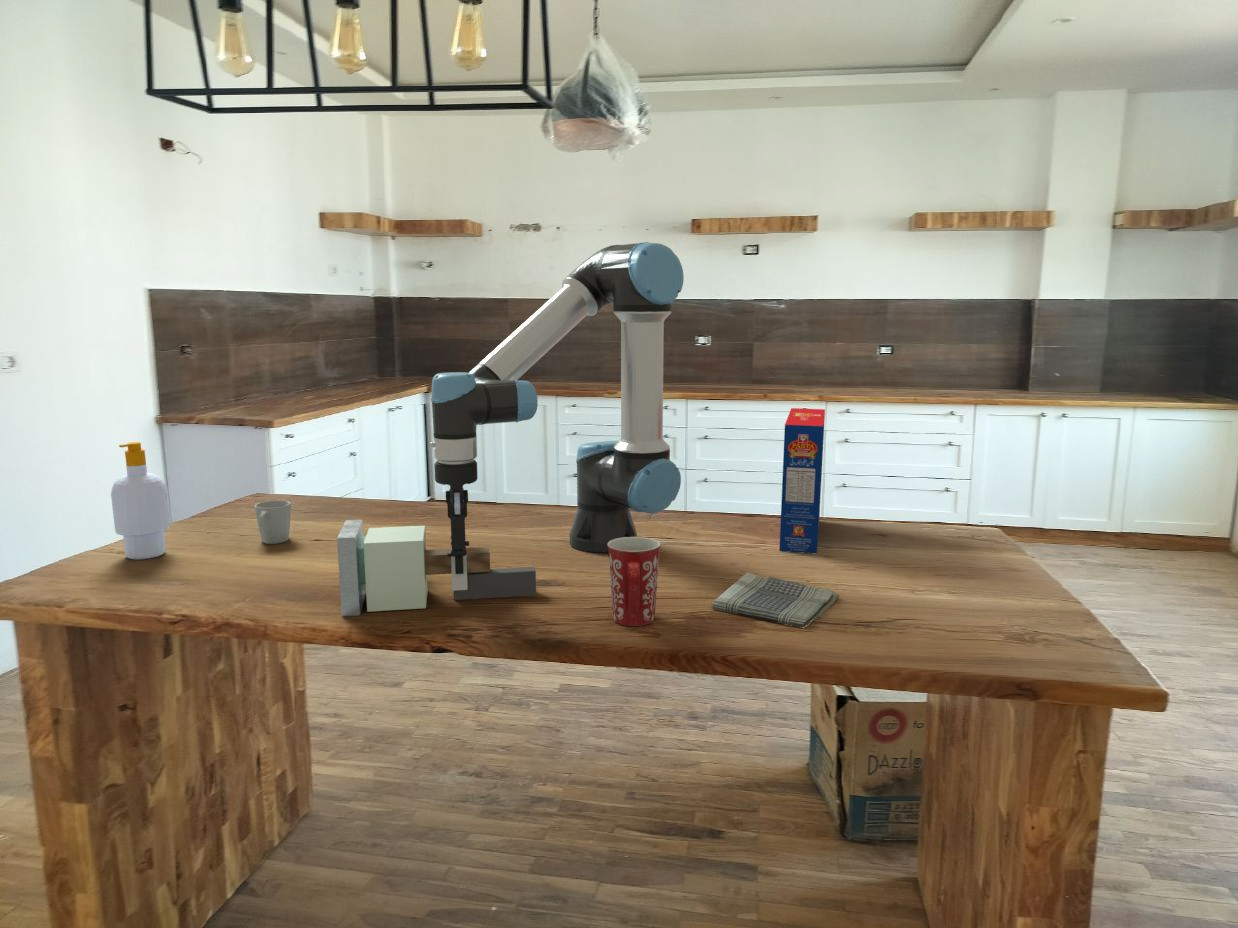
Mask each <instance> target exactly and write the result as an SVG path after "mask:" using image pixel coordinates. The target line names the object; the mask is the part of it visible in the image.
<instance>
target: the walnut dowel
mask: <svg viewBox="0 0 1238 928" xmlns="http://www.w3.org/2000/svg"><path fill="white" fill-rule="evenodd" d="M466 550H467V553H466V556H467V573H473V572H490V569H491V552H490V547H489V546H479V547H466ZM451 551H452V549H451V548H440V549H439V548H437V549H426V550H424V559H425V575H427V576H433V575H434V576H435V575H436V576H437V575H450V574H451V575H452V567H451V557H448V553H451Z"/></svg>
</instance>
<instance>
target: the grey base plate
mask: <svg viewBox="0 0 1238 928" xmlns="http://www.w3.org/2000/svg"><path fill="white" fill-rule="evenodd" d="M363 522H364V520H363V519H345V521H344V523H343V525H342V527H341V529H340V532H339V533H338V535H337V538H336V541H337V542H336V544H337V561H338V574H339V575H338V576H339V578H338V579H339V590H340V592H339V593H340V610H341V617H355V616H356V617H357V616H361V612H362V609H363V606H364V602H365V600H366V579H365V561H364V523H363Z"/></svg>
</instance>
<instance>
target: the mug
mask: <svg viewBox="0 0 1238 928" xmlns="http://www.w3.org/2000/svg"><path fill="white" fill-rule="evenodd" d="M607 546H608V549H609V552H608V560H609V562H608V563H609V565H608V566H609V574H610V575H609V576H610V577H609V578H610V593H611V612H612V620H613V621H614V622H615V623H617V624H619V625H622V626H627V627H642V626H646V625H649V624H651V623H653V622H654V621H655V619H656V618H655V617H656V603H657V588H658V586H657V585H658V574H659V573H658V572H659V560H660V559H659V557H660V549H661V546H662V545H661V543H660V541H658V540H656V539H652V538H649V537H639V536H637V537H623V538H617V539H613V540H611V541H609V542H608V543H607Z"/></svg>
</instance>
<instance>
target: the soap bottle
mask: <svg viewBox="0 0 1238 928" xmlns="http://www.w3.org/2000/svg"><path fill="white" fill-rule="evenodd" d="M118 446H119V448H127V450H125V451H124V456H125V464H126V465H125V466H126V467H125V468H126V474H124V475H122V476H120V477H119V478H117V479H116V480H115V481H114V482H113V484H112V487H111V493H110V497H111V507H112V514H113V525H114V530H115V533H116V535H119V536H123V537H122V538H123V546H124V556H125V557H126V558H127V559H130V560H147V559H153V558H154V559H155V558H157V557H160V556H163V554H165V553H166V539H165V531H167V530H169V528H170V527H171V518H170V510H169V509H170V508H169V499H168V490H167V487H166V485H165V482H164V481H163V480H162V479H161V477H160V476H159V475H157V474H154V473H152V472H148V470H147V469H148V467H147V461H146V451H145V449H143V448H142V444H141V442H140V441H134V442H133V441H132V442H128V443H124V444H119V445H118Z"/></svg>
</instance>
